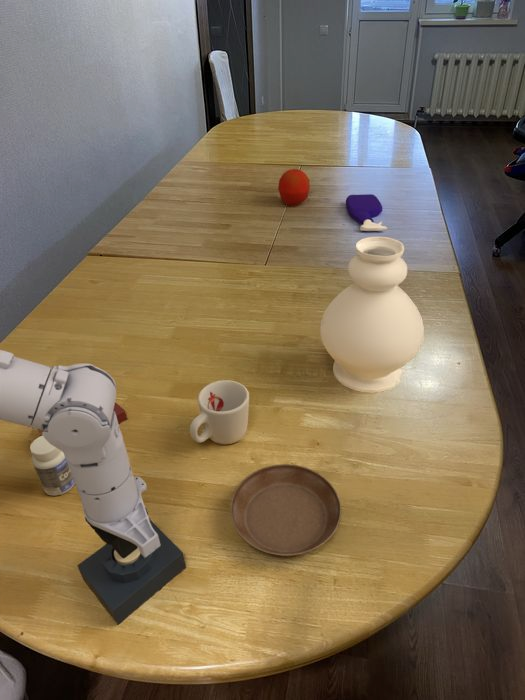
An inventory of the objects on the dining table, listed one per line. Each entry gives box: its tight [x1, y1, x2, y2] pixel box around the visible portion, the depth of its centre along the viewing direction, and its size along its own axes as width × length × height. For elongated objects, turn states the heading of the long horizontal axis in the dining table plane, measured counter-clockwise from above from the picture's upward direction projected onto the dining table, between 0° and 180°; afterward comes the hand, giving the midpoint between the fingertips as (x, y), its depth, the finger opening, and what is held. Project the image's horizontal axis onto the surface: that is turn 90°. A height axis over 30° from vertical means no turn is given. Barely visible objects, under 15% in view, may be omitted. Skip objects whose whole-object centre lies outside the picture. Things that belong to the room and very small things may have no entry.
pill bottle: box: [29, 435, 76, 497], centre depth 74 cm, size 5×5×8 cm
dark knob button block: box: [76, 518, 187, 626], centre depth 63 cm, size 10×8×5 cm
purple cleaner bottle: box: [345, 193, 388, 232], centre depth 157 cm, size 3×11×24 cm
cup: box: [189, 379, 250, 445], centre depth 81 cm, size 11×8×8 cm
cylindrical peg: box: [114, 547, 142, 565], centre depth 62 cm, size 3×3×2 cm
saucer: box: [229, 463, 342, 557], centre depth 70 cm, size 15×15×3 cm
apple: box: [277, 168, 311, 207], centre depth 166 cm, size 10×10×12 cm
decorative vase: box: [319, 236, 425, 394], centre depth 89 cm, size 18×18×25 cm
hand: (127, 550), depth 62 cm, fingers closed, pressing on cylindrical peg
